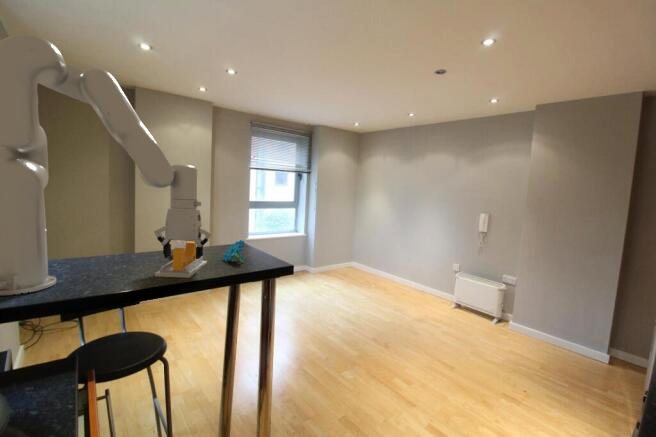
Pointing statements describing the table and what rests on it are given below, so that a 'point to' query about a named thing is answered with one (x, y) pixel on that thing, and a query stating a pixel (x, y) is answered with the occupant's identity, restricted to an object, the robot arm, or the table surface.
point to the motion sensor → (181, 244)
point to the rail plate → (186, 272)
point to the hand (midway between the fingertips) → (183, 257)
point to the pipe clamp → (184, 256)
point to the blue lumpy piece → (234, 251)
